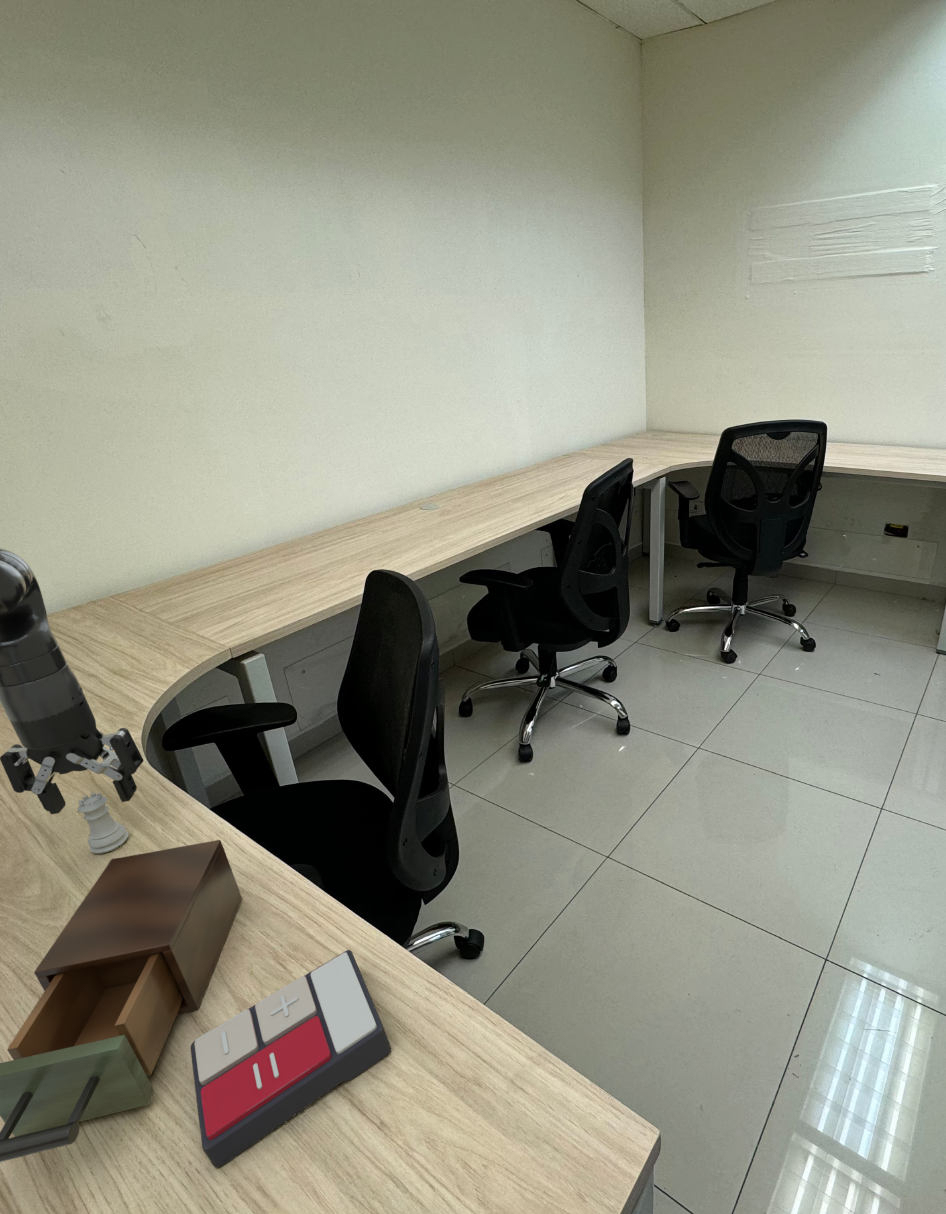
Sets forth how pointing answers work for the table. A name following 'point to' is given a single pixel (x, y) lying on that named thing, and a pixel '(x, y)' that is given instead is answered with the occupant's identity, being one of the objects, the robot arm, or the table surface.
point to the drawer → (85, 1051)
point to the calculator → (284, 1056)
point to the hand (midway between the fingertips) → (94, 803)
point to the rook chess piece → (101, 825)
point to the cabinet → (154, 917)
